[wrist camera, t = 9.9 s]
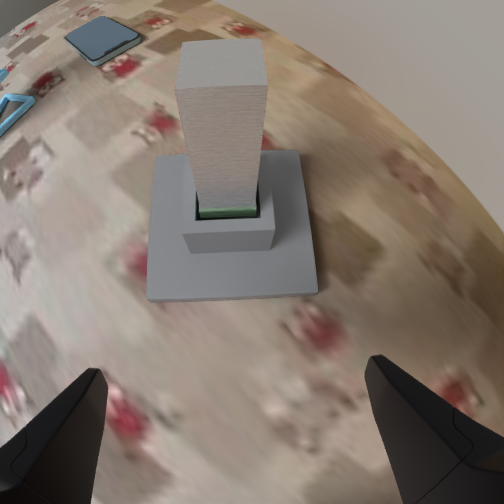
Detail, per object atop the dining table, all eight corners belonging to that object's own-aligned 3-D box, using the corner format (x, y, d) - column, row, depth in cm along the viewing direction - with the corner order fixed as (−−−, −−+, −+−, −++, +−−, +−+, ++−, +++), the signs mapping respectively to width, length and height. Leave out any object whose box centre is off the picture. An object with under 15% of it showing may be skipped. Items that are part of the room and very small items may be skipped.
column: (255, 216, 20) (271, 87, 10) (200, 218, 19) (171, 91, 10) (252, 165, 21) (261, 33, 11) (201, 167, 21) (181, 36, 11)
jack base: (314, 295, 23) (337, 274, 17) (150, 302, 22) (124, 284, 17) (296, 158, 27) (308, 113, 21) (158, 164, 26) (143, 120, 21)
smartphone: (102, 13, 35) (142, 34, 31) (105, 21, 37) (145, 43, 33) (62, 36, 33) (91, 62, 30) (65, 44, 35) (95, 71, 31)
